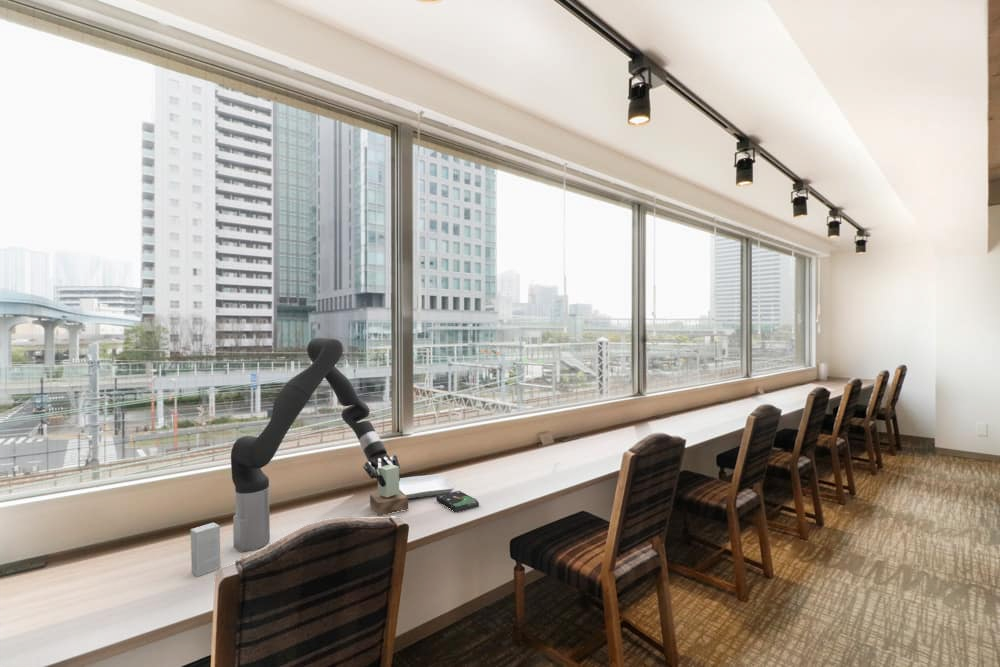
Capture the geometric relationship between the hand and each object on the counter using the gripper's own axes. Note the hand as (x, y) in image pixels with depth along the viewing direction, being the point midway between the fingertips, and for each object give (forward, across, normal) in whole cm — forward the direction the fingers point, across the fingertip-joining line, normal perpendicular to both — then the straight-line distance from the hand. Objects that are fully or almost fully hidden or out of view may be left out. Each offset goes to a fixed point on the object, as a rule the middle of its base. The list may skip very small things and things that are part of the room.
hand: (391, 483), depth 173 cm
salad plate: (+2, +21, +13) cm, 25 cm away
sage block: (+2, 0, +4) cm, 5 cm away
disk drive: (+18, +19, -3) cm, 26 cm away
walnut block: (+6, 0, +8) cm, 10 cm away
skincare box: (+6, -60, +8) cm, 61 cm away
